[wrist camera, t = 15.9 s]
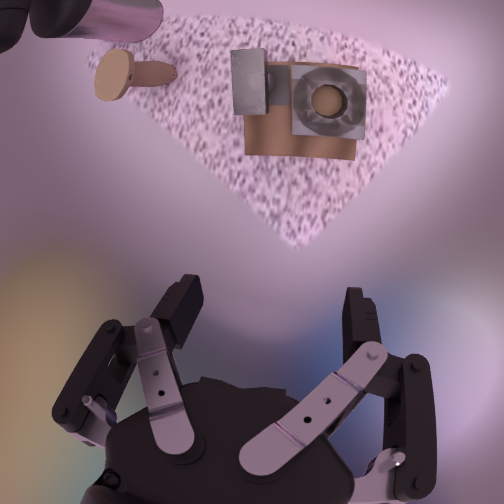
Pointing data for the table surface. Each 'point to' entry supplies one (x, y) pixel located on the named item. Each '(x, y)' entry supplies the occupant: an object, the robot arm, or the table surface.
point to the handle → (128, 74)
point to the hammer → (251, 81)
